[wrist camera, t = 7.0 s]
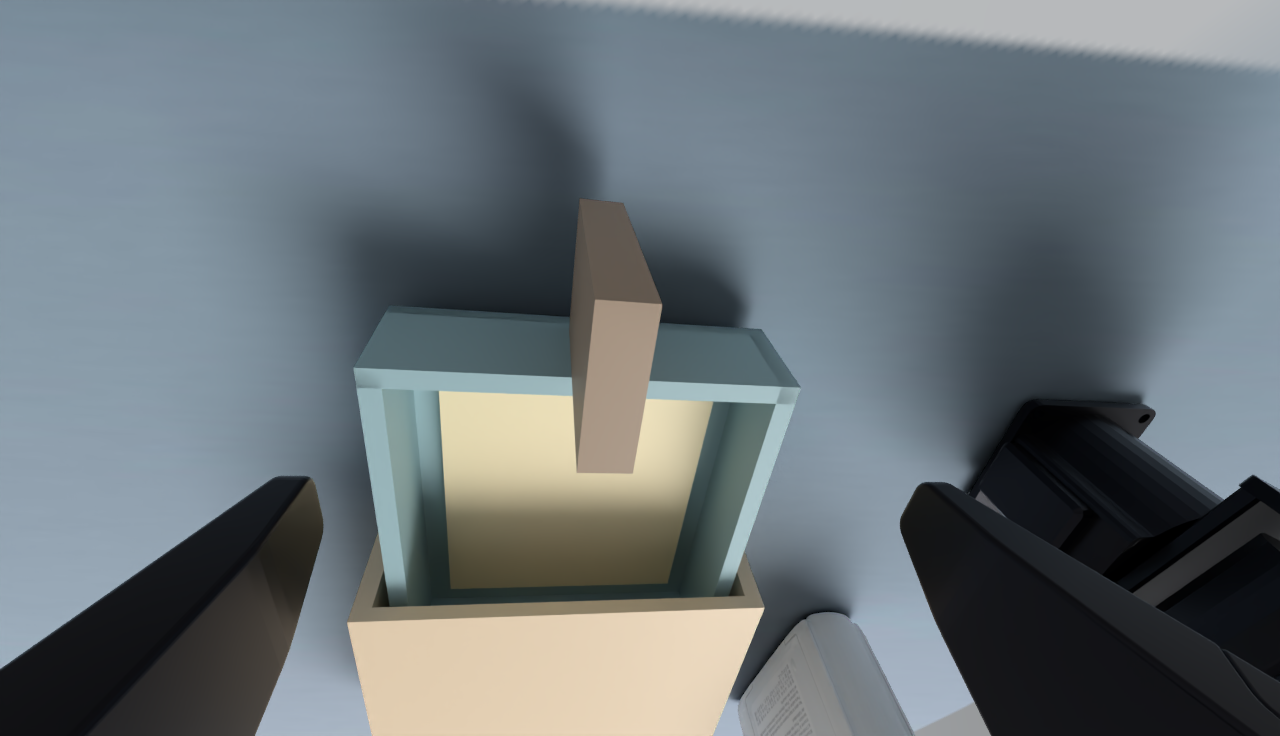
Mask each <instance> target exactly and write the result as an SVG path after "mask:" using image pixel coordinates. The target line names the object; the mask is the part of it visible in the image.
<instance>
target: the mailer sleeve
mask: <svg viewBox="0 0 1280 736" xmlns="http://www.w3.org/2000/svg"><path fill="white" fill-rule="evenodd" d="M764 608H765V607H764V604H763V601H762V599H761V596H760V593H759V590H758V587H757V585H756V582H755V579H754V576H753V574H752V571H751V568H750V565H749V563H748V560H747V557H746V554H745V552H744V553H743V556H742V559H741V562H740V565H739V568H738V570H737V573H736V576H735V579H734V582H733V585H732V588H731V591H730V593H729V596H728V597H698V598H666V599H634V600H602V601H569V602H537V603H505V604H473V605H440V606H408V607H390V606H389V599H388V592H387V586H386V579H385V573H384V566H383V559H382V553H381V546H380V540H379V533H378V534H377V537H376V539H375V542H374V545H373V548H372V551H371V554H370V557H369V560H368V563H367V566H366V569H365V572H364V574H363V577H362V580H361V583H360V586H359V589H358V592H357V595H356V598H355V601H354V604H353V607H352V609H351V612H350V615H349V618H348V621H347V625H348V629H349V634H350V638H351V643H352V647H353V652H354V656H355V661H356V665H357V670H358V674H359V679H360V683H361V688H362V692H363V697H364V702H365V706H366V711H367V715H368V720H369V724H370V729H371V733H372V736H713V734H714V731H715V729H716V726H717V724H718V721H719V719H720V716H721V714H722V712H723V709H724V707H725V704H726V702H727V699H728V697H729V694H730V692H731V689H732V687H733V685H734V682H735V680H736V677H737V675H738V672H739V670H740V667H741V665H742V662H743V660H744V658H745V655H746V653H747V650H748V648H749V645H750V643H751V640H752V638H753V635H754V633H755V631H756V628H757V626H758V623H759V621H760V618H761V616H762V613H763V611H764Z"/></svg>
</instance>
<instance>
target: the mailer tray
mask: <svg viewBox="0 0 1280 736" xmlns="http://www.w3.org/2000/svg"><path fill="white" fill-rule="evenodd" d="M661 310H662V302H661V299H660V297H659V294H658V291H657V289H656V286H655V284H654V281H653V279H652V276H651V273H650V271H649V268H648V266H647V263H646V261H645V258H644V255H643V253H642V250H641V248H640V245H639V243H638V240H637V237H636V235H635V232H634V230H633V227H632V224H631V222H630V219H629V217H628V214H627V212H626V209H625V206H624V204H623V203H618V202H609V201H599V200H590V199H580V200H579V212H578V225H577V237H576V249H575V262H574V274H573V286H572V298H571V311H570V317H564V316H548V315H533V314H517V313H502V312H486V311H471V310H456V309H440V308H425V307H409V306H394V305H389V307H388V309H387V310H386V312H385V314H384V316H383V317H382V319H381V321H380V323H379V324H378V326H377V328H376V329H375V331H374V333H373V335H372V336H371V338H370V340H369V342H368V343H367V345H366V347H365V349H364V350H363V352H362V354H361V355H360V357H359V359H358V361H357V362H356V364H355V366H354V368H353V369H354V375H355V382H356V388H357V395H358V402H359V408H360V415H361V421H362V428H363V434H364V441H365V448H366V454H367V461H368V467H369V474H370V481H371V487H372V494H373V500H374V507H375V513H376V520H377V527H378V533H379V540H380V546H381V553H382V559H383V566H384V573H385V579H386V586H387V592H388V599H389V606H390V607H408V606H440V605H473V604H505V603H537V602H569V601H602V600H634V599H666V598H698V597H728V596H729V593H730V591H731V588H732V585H733V582H734V579H735V576H736V573H737V570H738V568H739V565H740V562H741V559H742V556H743V553H744V550H745V547H746V545H747V542H748V539H749V536H750V533H751V530H752V527H753V524H754V522H755V519H756V516H757V513H758V510H759V507H760V504H761V501H762V498H763V496H764V493H765V490H766V487H767V484H768V481H769V478H770V475H771V473H772V470H773V467H774V464H775V461H776V458H777V455H778V452H779V450H780V447H781V444H782V441H783V438H784V435H785V432H786V429H787V427H788V424H789V421H790V418H791V415H792V412H793V409H794V406H795V403H796V401H797V398H798V395H799V392H800V389H801V387H800V385H799V384H798V383H797V381H796V380H795V378H794V377H793V375H792V374H791V372H790V371H789V369H788V368H787V366H786V365H785V363H784V362H783V360H782V359H781V358H780V356H779V355H778V353H777V352H776V350H775V349H774V347H773V346H772V344H771V343H770V341H769V340H768V338H767V337H766V335H765V334H764V332H763V331H762V330H761V329H749V328H734V327H718V326H703V325H687V324H672V323H659V322H660V316H661Z"/></svg>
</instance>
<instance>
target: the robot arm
mask: <svg viewBox="0 0 1280 736" xmlns="http://www.w3.org/2000/svg"><path fill="white" fill-rule="evenodd" d="M1155 414H1156V412H1155V411H1154V410H1153V409H1151V408H1150V407H1148V406H1147V405H1144V404H1130V403H1107V402H1085V401H1062V400H1039V399H1036V400H1032V401H1029V402H1027V403H1026V404H1025V405H1024V406H1023V407H1022V408H1021V410H1020V411H1019V413H1018V414H1017V416H1016V418H1015V419H1014V421H1013V423H1012V424H1011V426H1010V428H1009V429H1008V431H1007V433H1006V434H1005V436H1004V437H1003V439H1002V441H1001V442H1000V444H999V446H998V447H997V449H996V451H995V452H994V454H993V456H992V457H991V459H990V460H989V462H988V464H987V465H986V467H985V469H984V470H983V472H982V474H981V475H980V477H979V479H978V480H977V482H976V483H975V485H974V487H973V488H972V490H971V492H970V493H969V495H968V494H966V493H964V492H963V491H961V490H959V489H958V488H956V487H954V486H953V485H951V484H948V483H945V482H924V483H921V484H920V485H919V486H918V487H917V488H916V490H915V492H914V493H913V495H912V497H911V499H910V501H909V503H908V505H907V506H906V508H905V510H904V512H903V514H902V516H901V519H900V530H901V534H902V536H903V539H904V542H905V544H906V547H907V549H908V552H909V555H910V557H911V560H912V563H913V565H914V568H915V570H916V573H917V576H918V578H919V581H920V583H921V586H922V589H923V591H924V594H925V597H926V599H927V602H928V604H929V607H930V609H931V612H932V614H933V617H934V619H935V622H936V624H937V626H938V628H939V630H940V632H941V635H942V637H943V639H944V641H945V643H946V645H947V647H948V649H949V651H950V653H951V655H952V657H953V659H954V661H955V663H956V665H957V667H958V669H959V671H960V673H961V675H962V677H963V680H964V682H965V684H966V686H967V688H968V690H969V692H970V694H971V696H972V698H973V700H974V702H975V704H976V706H977V708H978V710H979V712H980V714H981V716H982V718H983V720H984V722H985V724H986V726H987V728H988V730H989V732H990V734H991V736H1280V489H1278V488H1276V487H1274V486H1272V485H1271V484H1269V483H1267V482H1265V481H1264V480H1262V479H1260V478H1258V477H1257V476H1255V475H1251V476H1250V477H1249V478H1247V479H1246V480H1245V481H1243V482H1242V483H1241V484H1239V486H1240V487H1241V488H1240V489H1238V490H1237V491H1236V492H1234V493H1233V494H1232V495H1230V496H1229V497H1228V498H1226V499H1225V500H1224V499H1222V498H1221V497H1219V496H1218V495H1217V494H1215V493H1214V492H1212V491H1211V490H1209V489H1208V488H1207V487H1205V486H1204V485H1202V484H1201V483H1200V482H1198V481H1197V480H1195V479H1194V478H1193V477H1191V476H1190V475H1188V474H1187V473H1186V472H1184V471H1183V470H1181V469H1180V468H1179V467H1177V466H1176V465H1174V464H1173V463H1172V462H1170V461H1169V460H1167V459H1166V458H1165V457H1163V456H1162V455H1160V454H1159V453H1157V452H1156V451H1155V450H1153V449H1152V448H1150V447H1149V446H1148V445H1146V444H1145V443H1143V442H1142V441H1141V440H1139V439H1138V438H1139V437H1140V436H1141V434H1142V433H1143V432H1144V431H1145V429H1146V428H1147V427H1148V425H1149V424H1150V423H1151V421H1152V420H1153V419H1154V417H1155ZM322 534H323V517H322V513H321V508H320V504H319V499H318V495H317V490H316V486H315V483H314V481H313V479H312V478H310V477H308V476H278V477H275V478H273V479H271V480H269V481H268V482H267V483H265V484H264V485H262V486H261V487H259V488H258V489H257V490H255V491H254V492H252V493H251V494H249V495H248V496H247V497H245V498H244V499H242V500H241V501H239V502H238V503H237V504H235V505H234V506H232V507H231V508H229V509H228V510H227V511H225V512H224V513H222V514H221V515H219V516H218V517H217V518H215V519H214V520H212V521H211V522H209V523H208V524H207V525H205V526H204V527H202V528H201V529H199V530H198V531H197V532H195V533H194V534H192V535H191V536H189V537H188V538H187V539H185V540H184V541H182V542H181V543H179V544H178V545H177V546H175V547H174V548H172V549H171V550H169V551H168V552H167V553H165V554H164V555H162V556H161V557H159V558H158V559H157V560H155V561H154V562H152V563H151V564H150V565H148V566H147V567H145V568H144V569H142V570H141V571H140V572H138V573H137V574H135V575H134V576H132V577H131V578H130V579H128V580H127V581H125V582H124V583H122V584H121V585H120V586H118V587H117V588H115V589H114V590H112V591H111V592H110V593H108V594H107V595H105V596H104V597H102V598H101V599H100V600H98V601H97V602H95V603H94V604H92V605H91V606H90V607H88V608H87V609H85V610H84V611H82V612H81V613H80V614H78V615H77V616H75V617H74V618H72V619H71V620H70V621H68V622H67V623H65V624H64V625H62V626H61V627H60V628H58V629H57V630H55V631H54V632H52V633H51V634H50V635H48V636H47V637H45V638H44V639H42V640H41V641H40V642H38V643H37V644H35V645H34V646H32V647H31V648H30V649H28V650H27V651H25V652H24V653H22V654H21V655H20V656H18V657H17V658H15V659H14V660H12V661H11V662H10V663H8V664H7V665H5V666H4V667H2V668H1V669H0V736H255V734H256V732H257V729H258V727H259V724H260V722H261V719H262V717H263V715H264V712H265V710H266V707H267V705H268V702H269V700H270V697H271V695H272V693H273V690H274V688H275V685H276V683H277V680H278V678H279V676H280V673H281V671H282V668H283V665H284V663H285V660H286V657H287V655H288V652H289V649H290V646H291V643H292V640H293V637H294V633H295V630H296V626H297V623H298V619H299V616H300V612H301V609H302V605H303V602H304V598H305V595H306V591H307V588H308V584H309V581H310V577H311V574H312V570H313V567H314V563H315V560H316V556H317V553H318V549H319V546H320V542H321V539H322Z"/></svg>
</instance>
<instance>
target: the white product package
mask: <svg viewBox="0 0 1280 736" xmlns="http://www.w3.org/2000/svg"><path fill="white" fill-rule="evenodd" d="M738 715H739V720H740V724H741V728H742V732H743V735H744V736H915V734H914V732H913V730H912V728H911V726H910V724H909V722H908V720H907V718H906V716H905V714H904V712H903V710H902V708H901V706H900V704H899V702H898V700H897V698H896V696H895V694H894V692H893V690H892V688H891V686H890V684H889V682H888V680H887V678H886V676H885V674H884V672H883V670H882V668H881V666H880V664H879V662H878V660H877V659H876V657H875V655H874V653H873V651H872V649H871V647H870V645H869V643H868V641H867V639H866V637H865V635H864V633H863V632H862V630H861V629H860V627H859V626H858V625H857V624H855V623H852V622H851V620H850V619H849V618H848V617H847V616H845V615H843V614H840V613H835V612H822V613H816V614H812V615H810V616H808V617H807V618H806V620H802V621H801V622H799V623H798V624H797V625H796V626H795V627H794V628H793V629H792V630H791V632H790V633H789V634H788V635H787V636H786V638H785V639H784V640H783V642H782V643H781V644H780V645H779V647H778V648H777V649H776V651H775V652H774V654H773V655H772V656H771V657H770V659H769V660H768V661H767V663H766V664H765V665H764V667H763V668H762V669H761V671H760V672H759V674H758V675H757V676H756V678H755V679H754V680H753V682H752V683H751V684H750V685H749V687H748V688H747V690H746V691H745V693H744V694H743V696H742V698H741V700H740V702H739V704H738Z"/></svg>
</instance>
